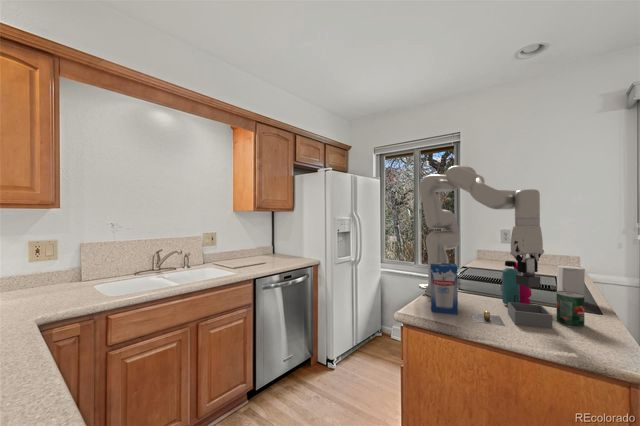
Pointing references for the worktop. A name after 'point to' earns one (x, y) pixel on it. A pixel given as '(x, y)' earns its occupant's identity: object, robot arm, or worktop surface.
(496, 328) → the worktop surface
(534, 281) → the silver rounded piece
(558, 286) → the skincare box
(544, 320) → the bin
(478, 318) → the stud plate
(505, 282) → the beverage bottle
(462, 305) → the worktop surface
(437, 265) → the milk carton
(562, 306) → the canned tomato
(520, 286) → the pepper mill
